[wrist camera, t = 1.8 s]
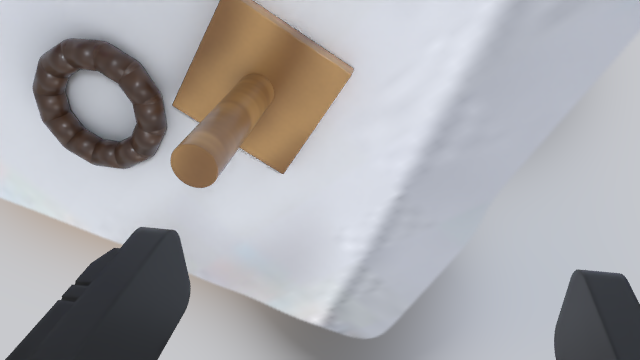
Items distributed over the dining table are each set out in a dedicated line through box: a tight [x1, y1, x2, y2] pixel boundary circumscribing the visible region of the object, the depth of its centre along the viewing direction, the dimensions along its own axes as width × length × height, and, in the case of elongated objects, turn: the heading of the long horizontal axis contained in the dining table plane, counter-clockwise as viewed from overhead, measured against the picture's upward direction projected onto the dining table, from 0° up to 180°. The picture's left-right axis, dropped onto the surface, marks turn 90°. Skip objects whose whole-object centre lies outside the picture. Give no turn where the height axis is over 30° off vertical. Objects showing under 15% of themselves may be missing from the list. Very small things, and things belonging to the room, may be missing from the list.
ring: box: [33, 38, 167, 169], centre depth 35 cm, size 10×10×2 cm
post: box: [171, 0, 354, 188], centre depth 28 cm, size 9×9×11 cm
